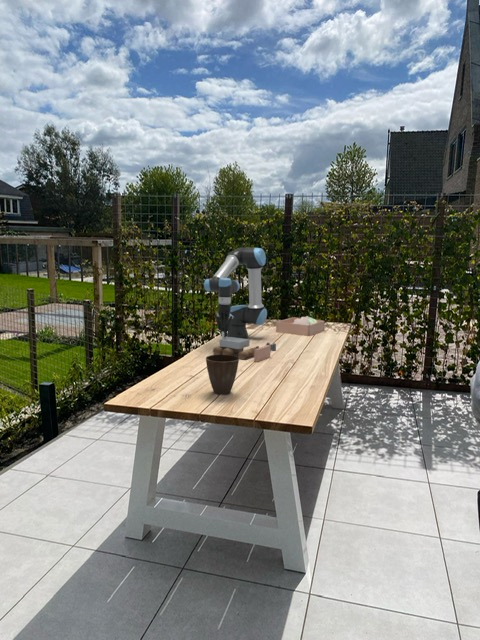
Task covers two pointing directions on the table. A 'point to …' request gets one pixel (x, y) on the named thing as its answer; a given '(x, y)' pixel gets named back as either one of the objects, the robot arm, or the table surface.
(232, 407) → the table surface
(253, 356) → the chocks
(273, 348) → the rack
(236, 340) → the slab
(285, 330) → the planter
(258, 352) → the block
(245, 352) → the roller
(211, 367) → the plant pot
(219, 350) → the roller
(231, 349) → the roller
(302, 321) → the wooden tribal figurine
